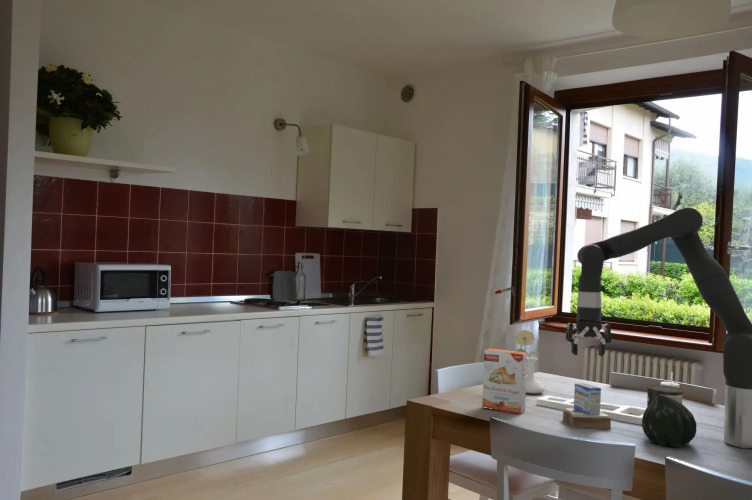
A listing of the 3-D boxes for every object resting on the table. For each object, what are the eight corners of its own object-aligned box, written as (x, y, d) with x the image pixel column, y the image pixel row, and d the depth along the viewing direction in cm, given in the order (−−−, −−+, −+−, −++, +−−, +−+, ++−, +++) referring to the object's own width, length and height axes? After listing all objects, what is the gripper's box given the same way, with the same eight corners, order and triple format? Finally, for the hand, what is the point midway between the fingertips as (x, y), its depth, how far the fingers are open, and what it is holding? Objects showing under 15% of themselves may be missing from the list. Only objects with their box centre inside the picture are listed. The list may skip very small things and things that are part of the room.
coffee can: (641, 432, 197) (643, 387, 197) (651, 426, 205) (652, 383, 205) (677, 439, 190) (678, 393, 190) (685, 433, 198) (686, 388, 198)
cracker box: (481, 408, 221) (483, 349, 221) (486, 405, 227) (488, 347, 227) (521, 414, 215) (522, 353, 215) (525, 411, 220) (527, 351, 220)
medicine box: (573, 409, 208) (573, 383, 208) (583, 408, 209) (584, 382, 210) (589, 415, 200) (590, 388, 201) (600, 414, 202) (601, 387, 202)
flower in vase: (548, 392, 254) (550, 330, 254) (539, 397, 244) (541, 332, 244) (517, 387, 261) (519, 327, 261) (507, 392, 251) (509, 329, 251)
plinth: (610, 428, 200) (610, 416, 200) (573, 428, 200) (574, 415, 200) (598, 420, 210) (598, 408, 210) (562, 419, 210) (563, 407, 210)
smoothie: (680, 412, 226) (682, 373, 226) (661, 411, 227) (663, 372, 227) (676, 408, 232) (677, 370, 232) (657, 407, 234) (658, 369, 234)
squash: (716, 431, 181) (684, 385, 189) (684, 439, 173) (652, 391, 182) (682, 453, 190) (653, 408, 199) (650, 461, 183) (621, 415, 191)
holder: (536, 406, 231) (536, 398, 231) (556, 398, 245) (557, 391, 245) (665, 430, 202) (666, 422, 202) (681, 421, 216) (681, 413, 216)
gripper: (572, 306, 201) (570, 356, 201) (615, 307, 202) (614, 357, 202) (563, 304, 209) (562, 353, 208) (605, 305, 209) (604, 354, 209)
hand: (588, 355), depth 205 cm, fingers open, 8 cm apart
